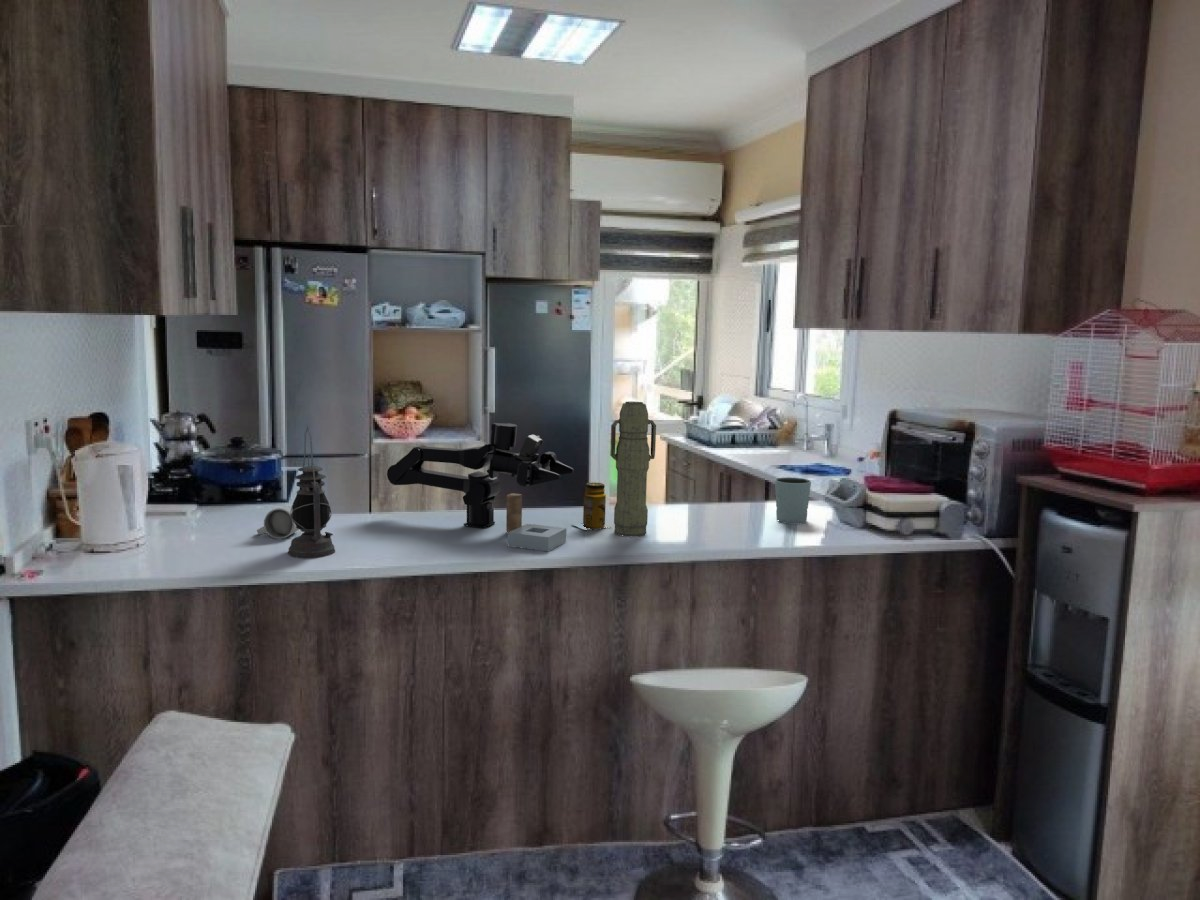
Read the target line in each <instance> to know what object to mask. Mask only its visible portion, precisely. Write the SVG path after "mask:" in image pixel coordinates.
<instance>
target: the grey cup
mask: <svg viewBox="0 0 1200 900" xmlns="http://www.w3.org/2000/svg"><path fill="white" fill-rule="evenodd" d="M811 486H812V481H811V480H810V479H809V478H803V477H793V476H792V477H788V476H787V477H778V478H775V479H774V487H775V488H774V489H775V496H776V498H775V506H776V511H775V512H776V513H775V514H776V521H777V520H779V521H781V522H780V523H782V522H786V523H785V524H789V523H797V524H796V525H801V524H800V523H802V524H805V523H807V520H808V509H809V502H810V500H809V498H810V494H811ZM779 521H778V522H779ZM798 523H799V524H798Z"/></svg>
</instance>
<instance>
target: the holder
mask: <svg viewBox="0 0 1200 900" xmlns="http://www.w3.org/2000/svg"><path fill="white" fill-rule="evenodd" d="M565 541H566V542H567V527H559V526H551V525H550V526H549V525H543V524H542V525H541V524H534V523H526V524H523V525H522V526H521V527H519V528H517V529H514V530H512V531H510V532H508V533H507V546H508V545H509V546H515V547H514V548H517V547H522V548H521V549H525V548H528V549H527V550H533V549H534V551H543V552H549V551H551V550H554V549H555V548H558V547H559V546H561V545H562V543H563V544H565V543H566V542H565ZM560 544H561V545H560ZM509 546H508V547H509Z"/></svg>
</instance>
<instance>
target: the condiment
mask: <svg viewBox="0 0 1200 900" xmlns="http://www.w3.org/2000/svg"><path fill="white" fill-rule="evenodd" d="M606 500H607V494H606V493H605V484H604V483H602V482H587V483H586V484H585V492H584V493H583V510H582V511H583V512H582V515H583V516H582V518H583V519H582V524H584V525H583V526H584V527H586V528H590V529H587V531H593V530H592V529H594V530H601V529H600V528H604V527H606V529H610V528H611V526H609V525H608V526H607V525H606V503H607V501H606ZM607 527H608V528H607Z"/></svg>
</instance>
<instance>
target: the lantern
mask: <svg viewBox="0 0 1200 900" xmlns="http://www.w3.org/2000/svg"><path fill="white" fill-rule="evenodd" d="M307 432H308V435H309V441H310V453H311V455H308V456H307V457H308V458H307V460H308V461H307V462H308V463H307V464H308V465H305V463H306V462H305V461H306V453H307V452H306V451H307V450H306V447H307V444H306V443H307V441H306V440H307ZM303 441H304V446H303V448H304V451H303V453H304V454H303V461H302V462H303V464H302V466H301V467H299V468H298V469H297V471H298V472H302V473H300V474H298V475H296V476H295V477H294V479H296V480H299V481H297V482H296V483H295V484H296V487H299V489H298V490H296V496H295V498H294V500H293V502H292V504H291V506H292V508H291V511H292V514H291V513H290V515H291V518H292V520H293V522H294V523H295V525H296V528H297V529H299V530H300V531H301V532H302V533H301V535H298V536H295V537H294V538H292V540H291V542H290V546H289V547H288V551H287V555H288V556H290V557H293V558H298V559H314V558H315V559H317V558H324V557H327V556H331V555H333V554H335V553H336V549H335V545H334V544H333V541H332V536H334V534H333V533H331V532H329V531H325V532H324V534H322V533H321V531H322V530H323V529H325V528H327V524H328V523H329V521H330V520H331V518H332V510H331V509H332V508H331V505H330V502H329V500H328V499H327V497H326V495H325V490H324V489H323V488H322V487H324V486H325V485H326V483H325V481H323V479H325V478H326V477H327V476H326V475H324V474H322V473H319V472H322V471H324V469H323V468H322V467H320V466H315V465H314V457H313V456H314V454H313V445H312V443H313V442H312V435H311V431H310V426H309V425H307V426H306V429H305V432H304V440H303ZM310 459H311V460H310ZM310 461H311V465H310Z"/></svg>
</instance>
